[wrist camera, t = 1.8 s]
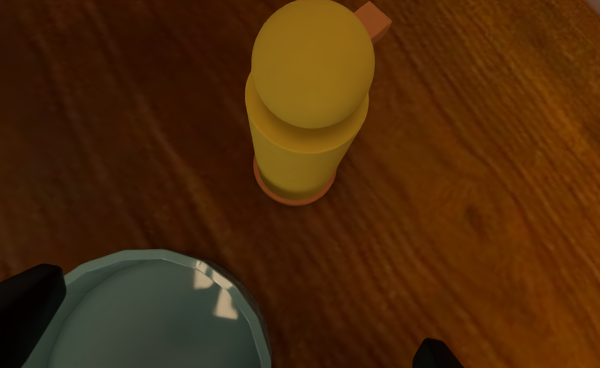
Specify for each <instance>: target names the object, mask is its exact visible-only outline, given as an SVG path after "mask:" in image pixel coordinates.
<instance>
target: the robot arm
mask: <svg viewBox="0 0 600 368" xmlns="http://www.w3.org/2000/svg"><path fill="white" fill-rule="evenodd" d="M66 293H67V288H66V283H65V279H64V275H63V270H62V268H61V267H59V266H55V265H50V264H39V265H37V266H35V267H33V268H30V269H28V270H26V271H24V272H22V273H20V274H17V275H15V276H13V277H11V278H9V279H7V280H4V281H2V282H0V368H22V367H23V365H24V364H25V362H26V361H27V360H28V358H29V356H30V355H31V353H32V352H33V350H34V349H35V347H36V345H37V344H38V342H39V340H40V339H41V337H42V335H43V334H44V332H45V331H46V329H47V327H48V326H49V324H50V322H51V321H52V319H53V317H54V316H55V314H56V312H57V311H58V309H59V307H60V306H61V304H62V303H63V301H64V299H65V297H66ZM412 368H464V367H463V366H462V365H461V363H460V362H459V361H458V359H457V358H456V357H455V356H454V354H453V353H452V352H451V350H450V349H449V348H448V347H447V345H446V344H445V343H444V342H443V341H441V340H437V339H432V338H426V339H424V340H423V342H422V344H421V345H420V347H419V349H418V351H417V352H416V354H415V356H414V358H413V364H412Z"/></svg>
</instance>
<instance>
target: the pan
mask: <svg viewBox="0 0 600 368" xmlns="http://www.w3.org/2000/svg"><path fill="white" fill-rule="evenodd" d="M64 279H65V283H66V288H67V293H66V297H65V299H64V301H63V303H62V304H61V306H60V307H59V309H58V311H57V312H56V314H55V316H54V317H53V319H52V321H51V322H50V324H49V326H48V327H47V329H46V331H45V332H44V334H43V335H42V337H41V339H40V340H39V342H38V344H37V345H36V347H35V349H34V350H33V352H32V353H31V355H30V356H29V358H28V360H27V361H26V362H25V364H24V365H23V367H22V368H272V343H271V340H270V336H269V333H268V329H267V325H266V322H265V320H264V317H263V314H262V311H261V309H260V307H259V306H258V304H257V303H256V301H255V299H254V298H253V296H252V295H251V293H250V292H249V291H248V289H247V288H246V287H245V286H244V285H243V283H242V282H241V281H240V280H239V279H237V278H236V277H235V276H234V275H232V274H231V273H230V272H229V271H227V270H226V269H224V268H223V267H221V266H219V265H218V264H217V263H215V262H213V261H210V260H207V259H204V258H201V257H197V256H194V255H190V254H187V253H184V252H178V251H172V250H166V249H147V250H124V251H123V250H122V251H119V252H116V253H113V254H110V255H107V256H104V257H101V258H98V259H95V260H92V261H89V262H86V263H83V264H81V265H80V266H78V267H77V268H75V269H74V270H72V271H71V272H69V273H68V274H67V275H65V276H64Z"/></svg>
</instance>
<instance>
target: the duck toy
mask: <svg viewBox="0 0 600 368" xmlns="http://www.w3.org/2000/svg"><path fill="white" fill-rule="evenodd" d="M391 23H392V21H391V20H390V19H389V18H388V17H387V16H386V15H385V14H383V13H382V12H381V11H380V10H379V9H378V8H377V7H376V6H375V5H373V4H372V3H371V2H370V1H368V2H367V3H366V4H365V5H363V6H362V7H361V8H360V9H358V10H357V11H356V12H355V13H352V12H351V11H350V10H349V9H347V8H346V7H344V6H342V5H340V4H338V3H336V2H334V1H331V0H297V1H294V2H291V3H289V4H287V5H285V6H284V7H282V8H280V9H279V10H277V11H276V12H275V13H274V14H273V15H272V16H271V17H270V18H269V19H268V20H267V21H266V22H265V24H264V25H263V27H262V28H261V30H260V32H259V34H258V36H257V38H256V41H255V44H254V47H253V52H252V71H251V73H250V75H249V77H248V80H247V84H246V89H245V102H246V108H247V113H248V118H249V124H250V129H251V134H252V139H253V145H254V150H255V155H254V161H253V168H254V174H255V178H256V181H257V183H258V185H259V186H260V188H261V190H262V191H263V192H264V193H265V194H266V195H267V196H268V197H269V198H271V199H272V200H274V201H276V202H278V203H280V204H283V205H287V206H304V205H308V204H311V203H313V202H315V201H317V200H318V199H320V198H321V197H322V196H323V195H324V194H325V193H326V192H327V191H328V190H329V188H330V187H331V185H332V183H333V181H334V178H335V175H336V169H337V166H338V165H339V163H340V161H341V160H342V158H343V156H344V155H345V153H346V151H347V150H348V148H349V146H350V145H351V143H352V141H353V140H354V138H355V136H356V135H357V133H358V131H359V130H360V128H361V126H362V124H363V122H364V121H365V118H366V115H367V111H368V105H369V96H368V91H369V88H370V86H371V83H372V80H373V75H374V67H375V59H374V49H373V45H374V44H375V43H376V42H377V41H378V40H380V39H381V38H382V37H383V36H384V35H385V34H386V33H387V31H388V29H389V27H390V25H391Z"/></svg>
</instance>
